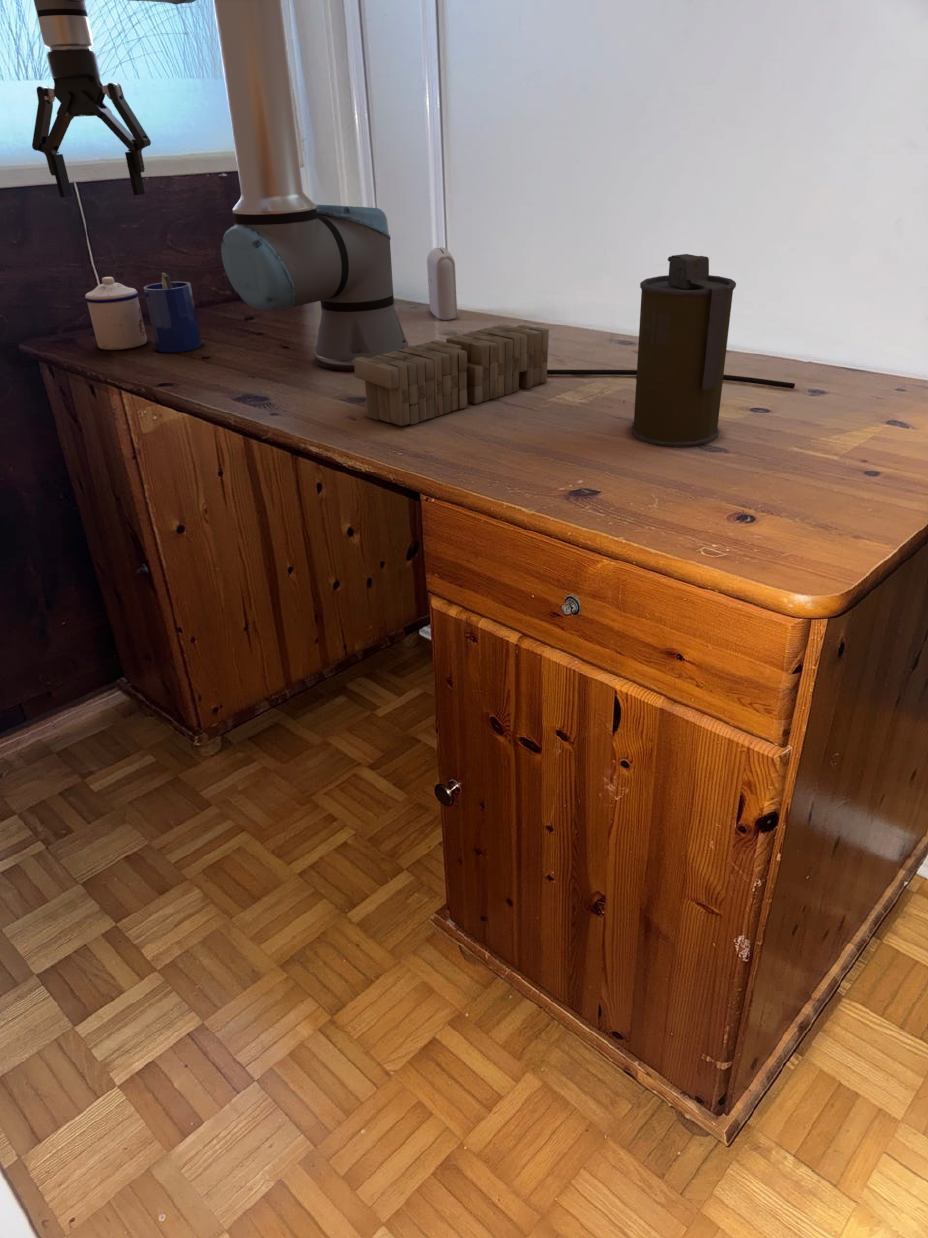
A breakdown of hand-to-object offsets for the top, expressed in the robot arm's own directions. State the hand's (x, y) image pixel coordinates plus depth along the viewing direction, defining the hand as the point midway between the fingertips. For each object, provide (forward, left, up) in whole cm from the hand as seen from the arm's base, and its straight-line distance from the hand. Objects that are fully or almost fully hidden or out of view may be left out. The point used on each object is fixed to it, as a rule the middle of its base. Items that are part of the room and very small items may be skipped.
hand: (102, 195), depth 151 cm
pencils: (-14, -2, -24) cm, 28 cm away
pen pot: (-14, -2, -24) cm, 28 cm away
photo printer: (-33, -49, -24) cm, 64 cm away
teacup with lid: (-2, +4, -24) cm, 25 cm away
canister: (-108, -18, -24) cm, 112 cm away
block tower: (-77, -11, -24) cm, 81 cm away
